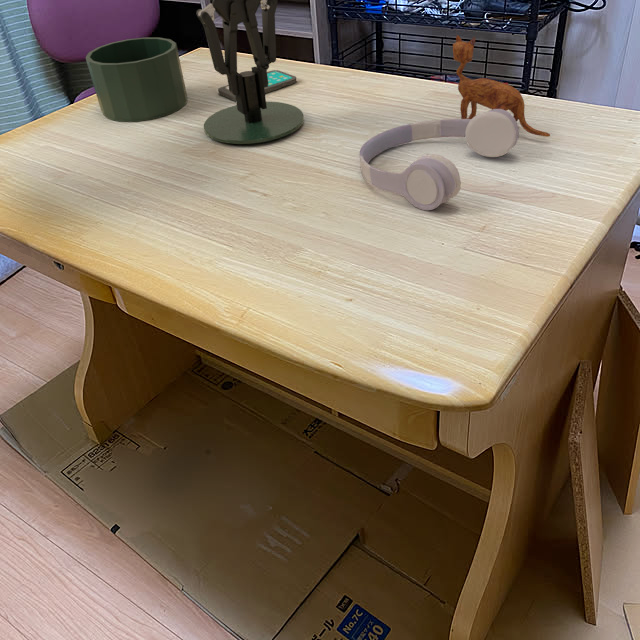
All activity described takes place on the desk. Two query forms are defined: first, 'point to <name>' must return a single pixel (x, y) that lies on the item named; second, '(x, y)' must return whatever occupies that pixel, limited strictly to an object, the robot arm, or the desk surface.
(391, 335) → the desk surface
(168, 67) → the trash tin
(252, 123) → the tin lid
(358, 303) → the desk surface
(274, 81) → the smartphone
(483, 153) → the headphones
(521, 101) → the cat figurine
